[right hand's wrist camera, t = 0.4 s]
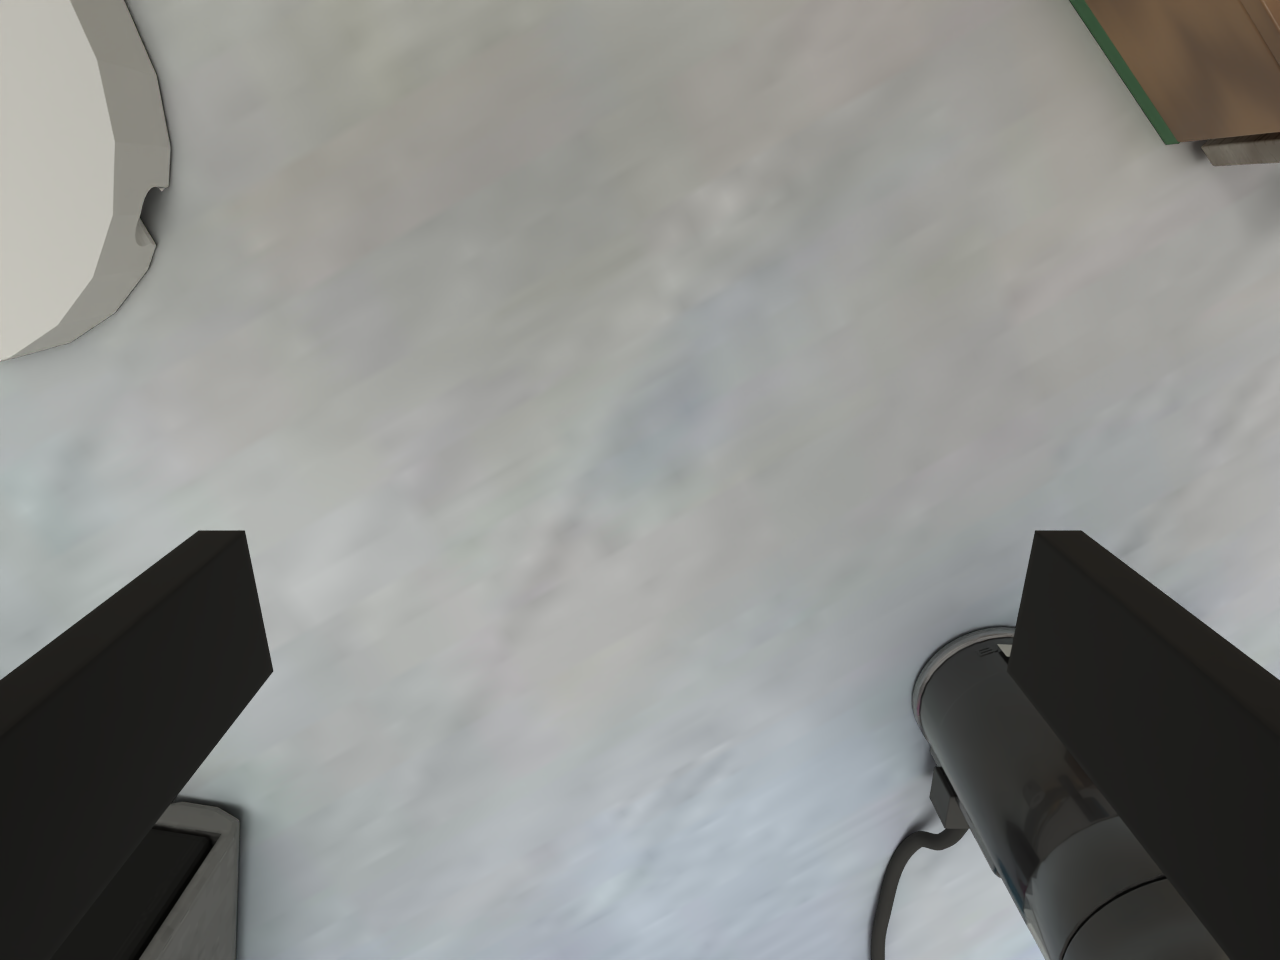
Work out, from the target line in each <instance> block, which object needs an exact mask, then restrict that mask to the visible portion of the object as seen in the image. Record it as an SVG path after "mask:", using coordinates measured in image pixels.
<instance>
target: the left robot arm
mask: <svg viewBox="0 0 1280 960" xmlns="http://www.w3.org/2000/svg"><path fill="white" fill-rule="evenodd" d="M1014 633H1015V628H1010V627H997V628H988V629H983V630H978V631H975V632H971V633H969V634H966V635H964V636H961V637H959V638H957V639H955V640H954V641H952V642H950V643H949V644H947V645H946V646H944V647H943V648H942V649H940V650H939V651H938V652H937V653H936V654H935V655H934V656H933V657H932V658H931V659H930V660H929V661H928V662H927V664H926V665H925V667H924V668H923V669H922V671H921V673H920V675H919V677H918V679H917V681H916V684H915V687H914V692H913V700H912V703H913V712H914V716H915V719H916V721H917V724H918V726H919V728H920V730H921V731H922V733H923V735H924V737H925V738H926V740H927V741H928V742H929V744H930V745H931V747H930V753H931V755H932V757H933V759H934V761H935V763H936V765H937V766H938V767H934V773H933V779H932V786H931V792H930V799H931V801H932V803H933V805H934V807H935V809H936V811H937V814H938V816H939V818H940V820H941V822H942V824H943V826H944V828H946V829H945V830H944V831H942V832H941V833H939V834H932V833H929V832H925V831H918V832H915V833H913V834H911V835H910V836H909V837H907V838H906V839H905V840H904V841H903V842H902V843H901V844H900V845H899V847H898V848H897V849H896V851H895V853H894V854H893V856H892V858H891V860H890V863H889V865H888V868H887V870H886V874H885V877H884V881H883V885H882V889H881V894H880V898H879V902H878V907H877V911H876V915H875V920H874V925H873V931H872V940H871V960H885V937H886V931H887V927H888V923H889V919H890V915H891V910H892V906H893V902H894V897H895V893H896V889H897V885H898V882H899V879H900V876H901V873H902V871H903V869H904V867H905V865H906V863H907V862H908V860H909V859H910V857H911V856H912V855H913V854H914V853H915V852H916V851H917V850H918V849H920V848H921V847H926V848H929V849H933V850H943V849H946V848H948V847H950V846H952V845H954V844H955V843H957V842H958V841H959V840H960V839H961V838H962V837H963V835H964V834H965V833H966V832H967V830H968V829H969V828H970V829H971V831H972V833H973V835H974V837H975V839H976V841H977V843H978V845H979V847H980V849H981V850H982V852H983V854H984V856H985V858H986V860H987V862H988V864H989V866H990V868H991V870H992V871H993V872H994V874H995V875H997V876H998V877H999V878H1002V880H1003V882H1004V884H1005V886H1006V888H1007V890H1008V891H1009V893H1010V895H1011V897H1012V899H1013V901H1014V903H1015V904H1016V906H1017V908H1018V910H1019V912H1020V914H1021V916H1022V918H1023V919H1024V921H1025V923H1026V925H1027V927H1028V929H1029V930H1030V932H1031V934H1032V936H1033V938H1034V939H1035V941H1036V943H1037V945H1038V947H1039V949H1040V951H1041V953H1042V954H1043V956H1044V958H1045V960H1230V959H1229V958H1228V956H1227V955H1226V954H1225V952H1224V951H1223V950H1222V949H1221V947H1220V946H1219V945H1218V943H1217V942H1216V941H1215V940H1214V938H1213V937H1212V936H1211V934H1210V933H1209V932H1208V930H1207V929H1206V928H1205V927H1204V925H1203V924H1202V923H1201V921H1200V920H1199V919H1198V918H1197V916H1196V915H1195V914H1194V912H1193V911H1192V910H1191V909H1190V907H1189V906H1188V905H1187V903H1186V902H1185V901H1184V899H1183V898H1182V897H1181V896H1180V894H1179V893H1178V892H1177V890H1176V889H1175V888H1174V887H1173V885H1172V884H1171V883H1170V881H1169V880H1168V879H1167V878H1166V876H1165V875H1164V874H1163V872H1162V871H1161V870H1160V868H1159V867H1158V866H1157V865H1156V863H1155V862H1154V861H1153V859H1152V858H1151V857H1150V856H1149V854H1148V853H1147V852H1146V850H1145V849H1144V848H1143V847H1142V845H1141V844H1140V843H1139V841H1138V840H1137V839H1136V837H1135V836H1134V835H1133V834H1132V832H1131V831H1130V830H1129V828H1128V827H1127V826H1126V825H1125V823H1124V822H1123V821H1122V819H1121V818H1120V817H1119V816H1118V814H1117V813H1116V812H1115V810H1114V809H1113V808H1112V807H1111V805H1110V804H1109V803H1108V801H1107V800H1106V799H1105V797H1104V796H1103V795H1102V794H1101V792H1100V791H1099V790H1098V788H1097V787H1096V786H1095V785H1094V783H1093V782H1092V781H1091V779H1090V778H1089V777H1088V776H1087V774H1086V773H1085V772H1084V770H1083V769H1082V768H1081V766H1080V765H1079V764H1078V763H1077V761H1076V760H1075V759H1074V757H1073V756H1072V755H1071V754H1070V752H1069V751H1068V750H1067V748H1066V747H1065V746H1064V745H1063V743H1062V742H1061V741H1060V739H1059V738H1058V737H1057V735H1056V734H1055V733H1054V732H1053V730H1052V729H1051V728H1050V726H1049V725H1048V724H1047V723H1046V721H1045V720H1044V719H1043V717H1042V716H1041V715H1040V714H1039V712H1038V711H1037V710H1036V708H1035V707H1034V706H1033V704H1032V703H1031V702H1030V701H1029V699H1028V698H1027V697H1026V695H1025V694H1024V693H1023V692H1022V690H1021V689H1020V688H1019V686H1018V685H1017V684H1016V683H1015V681H1014V680H1013V679H1012V677H1011V676H1010V675H1009V673H1008V672H1007V667H1008V662H1009V657H1010V653H1011V648H1012V643H1013V638H1014Z"/></svg>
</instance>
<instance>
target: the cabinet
mask: <svg viewBox="0 0 1280 960" xmlns="http://www.w3.org/2000/svg"><path fill="white" fill-rule="evenodd" d="M1070 2H1071V3H1072V5H1073V6H1074V8H1075V9H1076V11H1077V12H1078V14H1079V15H1080V17H1081V18H1082V20H1083V21H1084V23H1085V24H1086V26H1087V27H1088V29H1089V30H1090V32H1091V33H1092V35H1093V36H1094V38H1095V39H1096V41H1097V42H1098V44H1099V45H1100V47H1101V48H1102V50H1103V51H1104V53H1105V54H1106V56H1107V57H1108V59H1109V60H1110V62H1111V63H1112V65H1113V66H1114V68H1115V69H1116V71H1117V72H1118V74H1119V75H1120V77H1121V78H1122V80H1123V81H1124V83H1125V84H1126V86H1127V87H1128V89H1129V90H1130V92H1131V93H1132V95H1133V96H1134V98H1135V99H1136V101H1137V102H1138V104H1139V105H1140V107H1141V108H1142V110H1143V111H1144V113H1145V114H1146V116H1147V117H1148V119H1149V120H1150V122H1151V123H1152V125H1153V126H1154V128H1155V129H1156V131H1157V132H1158V134H1159V135H1160V137H1161V138H1162V140H1163V141H1164V143H1165V144H1166V145H1169V144H1179V143H1180V142H1187V141H1197V140H1207V139H1216V138H1226V137H1235V136H1245V135H1255V134H1264V133H1274V132H1280V0H1070Z"/></svg>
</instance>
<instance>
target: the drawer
mask: <svg viewBox="0 0 1280 960" xmlns="http://www.w3.org/2000/svg"><path fill="white" fill-rule="evenodd" d="M1201 148H1202V150H1203V151H1204V153H1205V154H1206V156H1207V157H1208V159H1209V160H1210V162H1211V164H1212V165H1213V166H1226V165H1244V164H1262V163H1280V132H1274V133H1264V134H1255V135H1245V136H1235V137H1226V138H1216V139H1209V140H1208V141H1207V142H1206V143H1205V144H1204V145H1202V147H1201Z"/></svg>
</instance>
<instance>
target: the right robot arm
mask: <svg viewBox="0 0 1280 960" xmlns="http://www.w3.org/2000/svg"><path fill="white" fill-rule="evenodd" d="M272 672H273V667H272V662H271V657H270V653H269V648H268V643H267V638H266V633H265V628H264V623H263V618H262V613H261V608H260V603H259V598H258V593H257V588H256V583H255V579H254V574H253V569H252V564H251V559H250V554H249V549H248V544H247V539H246V534H245V531H197V532H196V533H195V534H194V535H192V536H191V537H190V538H188V539H187V540H186V541H184V542H183V543H182V544H180V545H179V546H178V547H176V548H175V549H174V550H172V551H171V552H170V553H168V554H167V555H166V556H164V557H163V558H162V559H160V560H159V561H158V562H156V563H155V564H154V565H152V566H151V567H150V568H148V569H147V570H146V571H144V572H143V573H142V574H141V575H139V576H138V577H137V578H135V579H134V580H133V581H131V582H130V583H129V584H127V585H126V586H125V587H123V588H122V589H121V590H119V591H118V592H117V593H115V594H114V595H113V596H111V597H110V598H109V599H107V600H106V601H105V602H103V603H102V604H101V605H99V606H98V607H97V608H95V609H94V610H93V611H91V612H90V613H89V614H88V615H86V616H85V617H84V618H82V619H81V620H80V621H78V622H77V623H76V624H74V625H73V626H72V627H70V628H69V629H68V630H66V631H65V632H64V633H62V634H61V635H60V636H58V637H57V638H56V639H54V640H53V641H52V642H50V643H49V644H48V645H46V646H45V647H44V648H42V649H41V650H40V651H38V652H37V653H36V654H34V655H33V656H32V657H31V658H29V659H28V660H27V661H25V662H24V663H23V664H21V665H20V666H19V667H17V668H16V669H15V670H13V671H12V672H11V673H9V674H8V675H7V676H5V677H4V678H3V679H1V680H0V960H50V959H51V958H52V956H53V955H54V954H55V952H56V951H57V950H58V949H59V947H60V946H61V945H62V943H63V942H64V941H65V940H66V938H67V937H68V936H69V934H70V933H71V932H72V930H73V929H74V928H75V927H76V925H77V924H78V923H79V921H80V920H81V919H82V918H83V916H84V915H85V914H86V912H87V911H88V910H89V909H90V907H91V906H92V905H93V903H94V902H95V901H96V899H97V898H98V897H99V896H100V894H101V893H102V892H103V890H104V889H105V888H106V887H107V885H108V884H109V883H110V881H111V880H112V879H113V878H114V876H115V875H116V874H117V872H118V871H119V870H120V868H121V867H122V866H123V865H124V863H125V862H126V861H127V859H128V858H129V857H130V856H131V854H132V853H133V852H134V850H135V849H136V848H137V847H138V845H139V844H140V843H141V841H142V840H143V839H144V837H145V836H146V835H147V834H148V832H149V831H150V830H151V828H152V827H153V826H154V825H155V823H156V822H157V821H158V819H159V818H160V817H161V816H162V814H163V813H164V812H165V810H166V809H167V808H168V807H169V805H170V804H171V803H172V801H173V800H174V799H175V797H176V796H177V795H178V794H179V792H180V791H181V790H182V788H183V787H184V786H185V785H186V783H187V782H188V781H189V779H190V778H191V777H192V776H193V774H194V773H195V772H196V770H197V769H198V768H199V766H200V765H201V764H202V763H203V761H204V760H205V759H206V757H207V756H208V755H209V754H210V752H211V751H212V750H213V748H214V747H215V746H216V745H217V743H218V742H219V741H220V739H221V738H222V737H223V735H224V734H225V733H226V732H227V730H228V729H229V728H230V726H231V725H232V724H233V723H234V721H235V720H236V719H237V717H238V716H239V715H240V714H241V712H242V711H243V710H244V708H245V707H246V706H247V704H248V703H249V702H250V701H251V699H252V698H253V697H254V695H255V694H256V693H257V692H258V690H259V689H260V688H261V686H262V685H263V684H264V683H265V681H266V680H267V679H268V677H269V676H270V675H271V673H272ZM1007 672H1008V673H1009V675H1010V676H1011V677H1012V679H1013V680H1014V681H1015V683H1016V684H1017V685H1018V686H1019V688H1020V689H1021V690H1022V692H1023V693H1024V694H1025V695H1026V697H1027V698H1028V699H1029V701H1030V702H1031V703H1032V704H1033V706H1034V707H1035V708H1036V710H1037V711H1038V712H1039V714H1040V715H1041V716H1042V717H1043V719H1044V720H1045V721H1046V723H1047V724H1048V725H1049V726H1050V728H1051V729H1052V730H1053V732H1054V733H1055V734H1056V735H1057V737H1058V738H1059V739H1060V741H1061V742H1062V743H1063V745H1064V746H1065V747H1066V748H1067V750H1068V751H1069V752H1070V754H1071V755H1072V756H1073V757H1074V759H1075V760H1076V761H1077V763H1078V764H1079V765H1080V766H1081V768H1082V769H1083V770H1084V772H1085V773H1086V774H1087V776H1088V777H1089V778H1090V779H1091V781H1092V782H1093V783H1094V785H1095V786H1096V787H1097V788H1098V790H1099V791H1100V792H1101V794H1102V795H1103V796H1104V797H1105V799H1106V800H1107V801H1108V803H1109V804H1110V805H1111V807H1112V808H1113V809H1114V810H1115V812H1116V813H1117V814H1118V816H1119V817H1120V818H1121V819H1122V821H1123V822H1124V823H1125V825H1126V826H1127V827H1128V828H1129V830H1130V831H1131V832H1132V834H1133V835H1134V836H1135V837H1136V839H1137V840H1138V841H1139V843H1140V844H1141V845H1142V847H1143V848H1144V849H1145V850H1146V852H1147V853H1148V854H1149V856H1150V857H1151V858H1152V859H1153V861H1154V862H1155V863H1156V865H1157V866H1158V867H1159V868H1160V870H1161V871H1162V872H1163V874H1164V875H1165V876H1166V878H1167V879H1168V880H1169V881H1170V883H1171V884H1172V885H1173V887H1174V888H1175V889H1176V890H1177V892H1178V893H1179V894H1180V896H1181V897H1182V898H1183V899H1184V901H1185V902H1186V903H1187V905H1188V906H1189V907H1190V909H1191V910H1192V911H1193V912H1194V914H1195V915H1196V916H1197V918H1198V919H1199V920H1200V921H1201V923H1202V924H1203V925H1204V927H1205V928H1206V929H1207V930H1208V932H1209V933H1210V934H1211V936H1212V937H1213V938H1214V940H1215V941H1216V942H1217V943H1218V945H1219V946H1220V947H1221V949H1222V950H1223V951H1224V952H1225V954H1226V955H1227V956H1228V958H1229V959H1230V960H1280V680H1279V679H1277V678H1276V677H1275V676H1273V675H1272V674H1271V673H1269V672H1268V671H1267V670H1265V669H1264V668H1263V667H1261V666H1260V665H1259V664H1257V663H1256V662H1255V661H1253V660H1252V659H1251V658H1249V657H1248V656H1247V655H1246V654H1244V653H1243V652H1242V651H1240V650H1239V649H1238V648H1236V647H1235V646H1234V645H1232V644H1231V643H1230V642H1228V641H1227V640H1226V639H1224V638H1223V637H1222V636H1220V635H1219V634H1218V633H1216V632H1215V631H1214V630H1212V629H1211V628H1210V627H1208V626H1207V625H1206V624H1204V623H1203V622H1202V621H1200V620H1199V619H1198V618H1196V617H1195V616H1194V615H1192V614H1191V613H1190V612H1189V611H1187V610H1186V609H1185V608H1183V607H1182V606H1181V605H1179V604H1178V603H1177V602H1175V601H1174V600H1173V599H1171V598H1170V597H1169V596H1167V595H1166V594H1165V593H1163V592H1162V591H1161V590H1159V589H1158V588H1157V587H1155V586H1154V585H1153V584H1151V583H1150V582H1149V581H1147V580H1146V579H1145V578H1143V577H1142V576H1141V575H1139V574H1138V573H1137V572H1136V571H1134V570H1133V569H1132V568H1130V567H1129V566H1128V565H1126V564H1125V563H1124V562H1122V561H1121V560H1120V559H1118V558H1117V557H1116V556H1114V555H1113V554H1112V553H1110V552H1109V551H1108V550H1106V549H1105V548H1104V547H1102V546H1101V545H1100V544H1098V543H1097V542H1096V541H1094V540H1093V539H1092V538H1090V537H1089V536H1088V535H1086V534H1085V533H1084V532H1083V531H1035V534H1034V539H1033V544H1032V549H1031V554H1030V559H1029V564H1028V569H1027V574H1026V579H1025V583H1024V588H1023V593H1022V598H1021V603H1020V608H1019V613H1018V618H1017V623H1016V628H1015V633H1014V638H1013V643H1012V648H1011V653H1010V657H1009V662H1008V667H1007Z"/></svg>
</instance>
